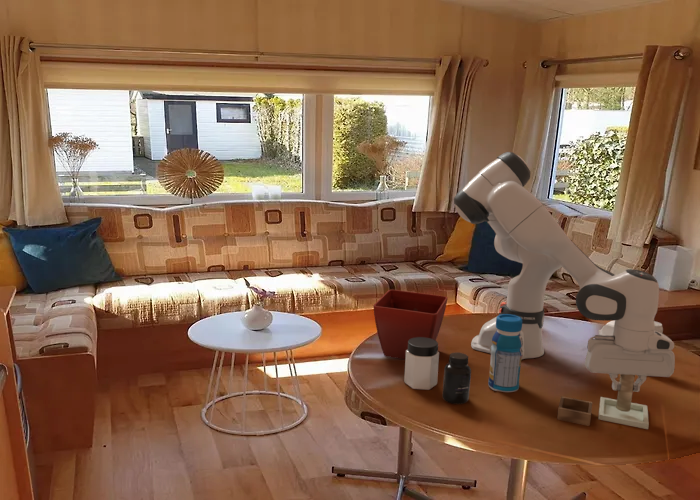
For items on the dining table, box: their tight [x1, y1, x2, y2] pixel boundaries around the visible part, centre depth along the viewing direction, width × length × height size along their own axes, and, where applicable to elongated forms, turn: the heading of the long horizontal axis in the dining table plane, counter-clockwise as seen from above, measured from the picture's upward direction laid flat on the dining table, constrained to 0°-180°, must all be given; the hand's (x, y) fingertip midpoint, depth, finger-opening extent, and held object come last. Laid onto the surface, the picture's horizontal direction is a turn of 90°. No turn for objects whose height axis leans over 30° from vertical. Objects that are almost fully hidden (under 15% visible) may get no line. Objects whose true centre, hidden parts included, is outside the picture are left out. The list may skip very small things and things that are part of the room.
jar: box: [403, 337, 440, 391], centre depth 168 cm, size 9×8×12 cm
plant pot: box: [373, 289, 449, 360], centre depth 190 cm, size 19×19×17 cm
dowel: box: [616, 374, 636, 412], centre depth 152 cm, size 3×3×10 cm
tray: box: [598, 396, 650, 430], centre depth 154 cm, size 11×11×2 cm
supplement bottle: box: [441, 352, 472, 405], centre depth 160 cm, size 7×7×12 cm
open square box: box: [556, 395, 593, 427], centre depth 152 cm, size 7×7×4 cm
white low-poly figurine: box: [597, 320, 615, 336], centre depth 205 cm, size 9×8×15 cm
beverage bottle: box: [487, 314, 523, 393], centre depth 166 cm, size 8×8×20 cm
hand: (625, 390), depth 152 cm, fingers closed on dowel, 3 cm apart
